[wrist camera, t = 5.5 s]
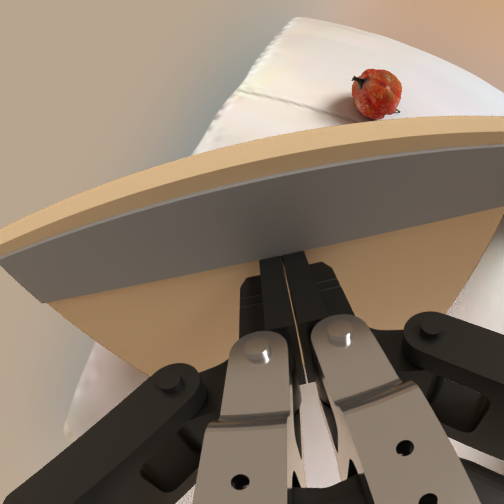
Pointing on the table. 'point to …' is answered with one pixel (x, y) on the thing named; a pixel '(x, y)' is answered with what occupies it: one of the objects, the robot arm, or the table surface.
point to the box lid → (267, 233)
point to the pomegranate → (376, 93)
